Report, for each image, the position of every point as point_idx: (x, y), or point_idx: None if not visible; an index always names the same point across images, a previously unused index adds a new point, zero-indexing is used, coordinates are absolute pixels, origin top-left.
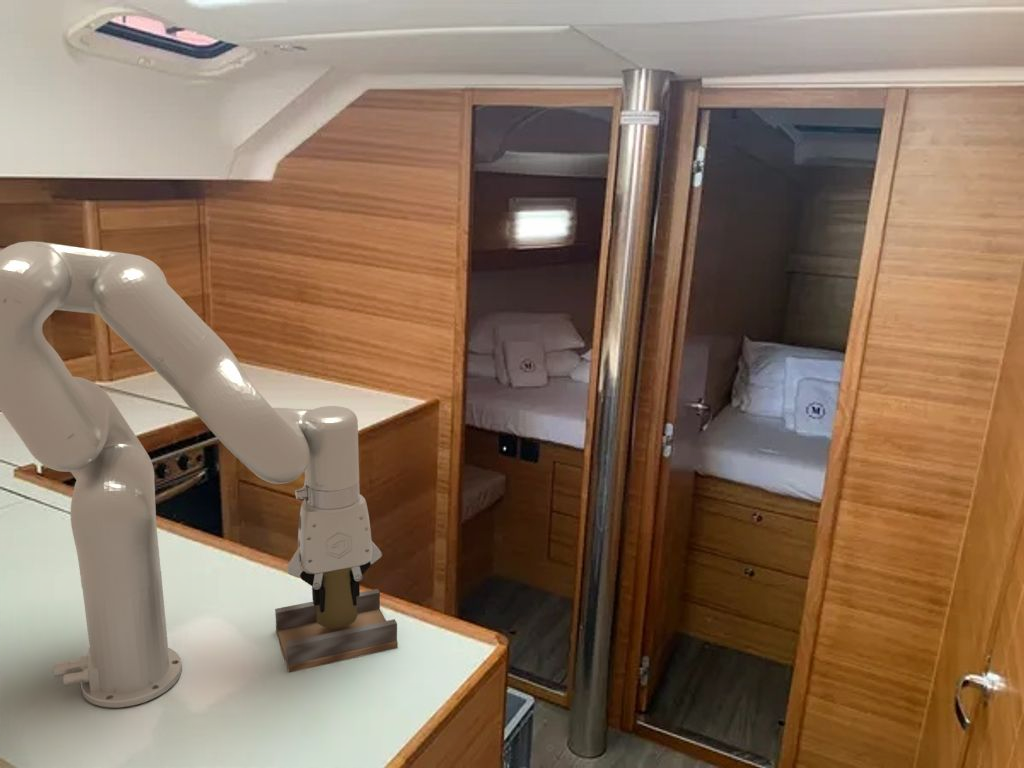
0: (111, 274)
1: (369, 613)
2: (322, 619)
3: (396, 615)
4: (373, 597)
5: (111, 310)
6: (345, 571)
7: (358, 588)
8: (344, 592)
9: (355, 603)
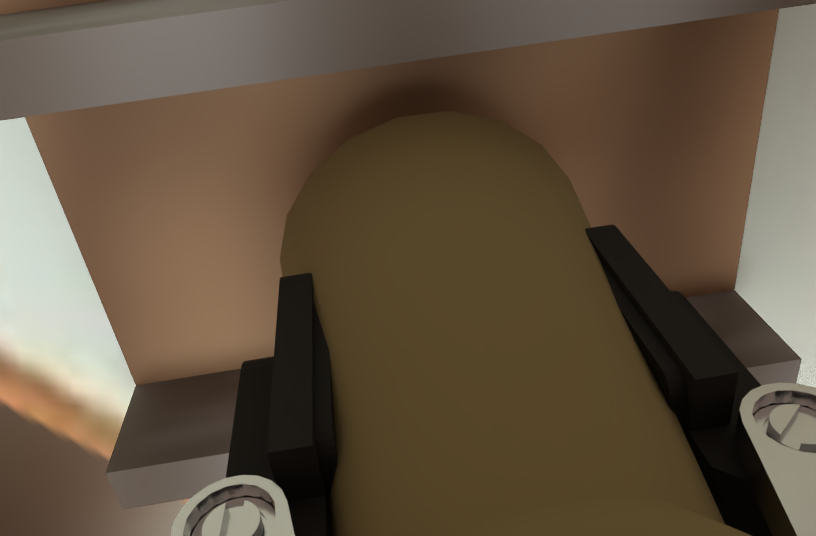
0: None
1: (201, 354)
2: (573, 195)
3: (39, 341)
4: (158, 444)
5: None
6: None
7: (245, 417)
8: (422, 330)
9: (289, 281)
